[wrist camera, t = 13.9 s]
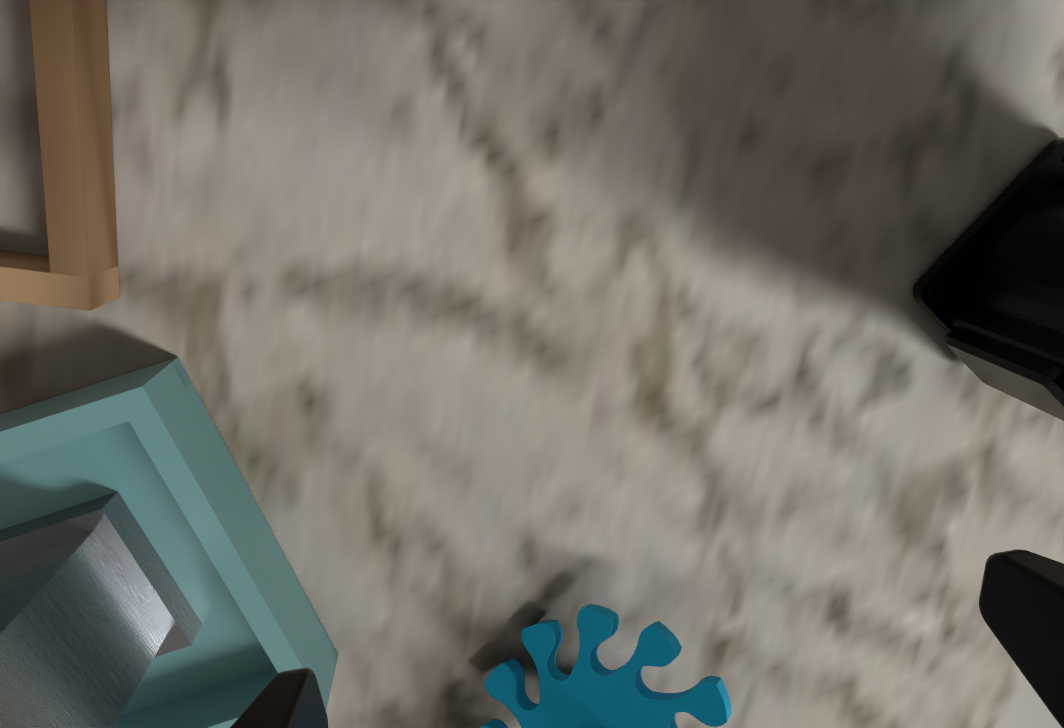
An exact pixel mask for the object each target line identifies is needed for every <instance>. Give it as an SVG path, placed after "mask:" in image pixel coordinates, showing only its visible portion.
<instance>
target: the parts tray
mask: <svg viewBox="0 0 1064 728" xmlns="http://www.w3.org/2000/svg"><path fill="white" fill-rule="evenodd" d="M115 492H119V494H120V495H121V497H122V498H123V500H124V501H125V503H126V505H127V506H128V508H129V509H130V511H131V512H132V514H133V516H134V517H135V519H136V520H137V522H138V523H139V525H140V527H141V528H142V530H143V531H144V533H145V534H146V536H147V538H148V539H149V541H150V542H151V544H152V545H153V547H154V549H155V550H156V552H157V553H158V555H159V556H160V558H161V560H162V561H163V563H164V564H165V566H166V567H167V569H168V571H169V572H170V574H171V575H172V577H173V578H174V580H175V582H176V583H177V585H178V586H179V588H180V589H181V591H182V593H183V594H184V596H185V597H186V599H187V600H188V602H189V604H190V605H191V607H192V608H193V610H194V611H195V613H196V615H197V616H198V618H199V619H200V621H201V622H202V625H201V627H200V629H199V631H198V633H197V635H196V637H195V639H194V641H193V643H192V645H191V646H188V647H185V648H182V649H179V650H176V651H173V652H170V653H167V654H164V655H161V656H157V657H154V658H153V660H152V661H151V663H150V665H149V667H148V668H147V670H146V672H145V674H144V676H143V677H142V679H141V681H140V683H139V684H138V686H137V688H136V690H135V691H134V693H133V695H132V697H131V698H130V700H129V702H128V704H127V705H126V707H125V709H124V711H123V712H122V714H121V716H120V718H119V719H118V721H117V723H116V725H115V726H114V728H230V727H231V726H232V724H233V723H234V722H235V721H236V720H237V719H238V718H239V716H240V715H241V714H242V713H243V712H244V711H245V709H246V708H247V707H248V706H249V705H250V704H251V702H252V701H253V700H254V699H255V698H256V697H257V695H258V694H259V693H260V692H261V691H262V690H263V688H264V687H265V686H266V685H267V684H268V683H269V681H270V680H271V679H272V678H273V677H274V676H275V675H276V674H278V673H280V672H282V671H288V670H294V669H300V668H310V669H312V670H313V672H314V673H315V675H316V678H317V682H318V685H319V689H320V692H321V696H322V699H323V703H324V706H325V709H326V708H327V703H328V699H329V694H330V690H331V685H332V681H333V676H334V672H335V667H336V662H337V658H338V653H337V651H336V649H335V648H334V646H333V644H332V642H331V640H330V638H329V636H328V635H327V633H326V631H325V629H324V627H323V625H322V623H321V622H320V620H319V618H318V616H317V614H316V612H315V610H314V609H313V607H312V605H311V603H310V601H309V599H308V597H307V596H306V594H305V592H304V590H303V588H302V586H301V584H300V583H299V581H298V579H297V577H296V575H295V573H294V571H293V570H292V568H291V566H290V564H289V562H288V560H287V558H286V557H285V555H284V553H283V551H282V549H281V547H280V545H279V544H278V542H277V540H276V538H275V536H274V534H273V532H272V531H271V529H270V527H269V525H268V523H267V521H266V519H265V518H264V516H263V514H262V512H261V510H260V508H259V506H258V505H257V503H256V501H255V499H254V497H253V495H252V493H251V492H250V490H249V488H248V486H247V484H246V482H245V480H244V479H243V477H242V475H241V473H240V471H239V469H238V467H237V466H236V464H235V462H234V460H233V458H232V456H231V454H230V453H229V451H228V449H227V447H226V445H225V443H224V441H223V440H222V438H221V436H220V434H219V432H218V430H217V428H216V427H215V425H214V423H213V421H212V419H211V417H210V415H209V414H208V412H207V410H206V408H205V406H204V404H203V402H202V401H201V399H200V397H199V395H198V393H197V391H196V389H195V388H194V386H193V384H192V382H191V380H190V378H189V376H188V375H187V373H186V371H185V369H184V367H183V365H182V363H181V362H180V360H179V358H178V357H177V358H174V359H171V360H167V361H164V362H161V363H158V364H155V365H152V366H149V367H146V368H142V369H139V370H136V371H133V372H130V373H127V374H124V375H121V376H117V377H114V378H111V379H108V380H105V381H102V382H99V383H95V384H92V385H89V386H86V387H83V388H80V389H77V390H74V391H70V392H67V393H64V394H61V395H58V396H55V397H52V398H49V399H45V400H42V401H39V402H36V403H33V404H30V405H27V406H24V407H20V408H17V409H14V410H11V411H8V412H5V413H2V414H0V530H1V529H4V528H7V527H10V526H13V525H17V524H20V523H23V522H26V521H29V520H32V519H35V518H38V517H41V516H44V515H47V514H50V513H53V512H56V511H59V510H62V509H66V508H69V507H72V506H75V505H78V504H81V503H84V502H87V501H90V500H93V499H96V498H99V497H102V496H105V495H108V494H111V493H115Z"/></svg>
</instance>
